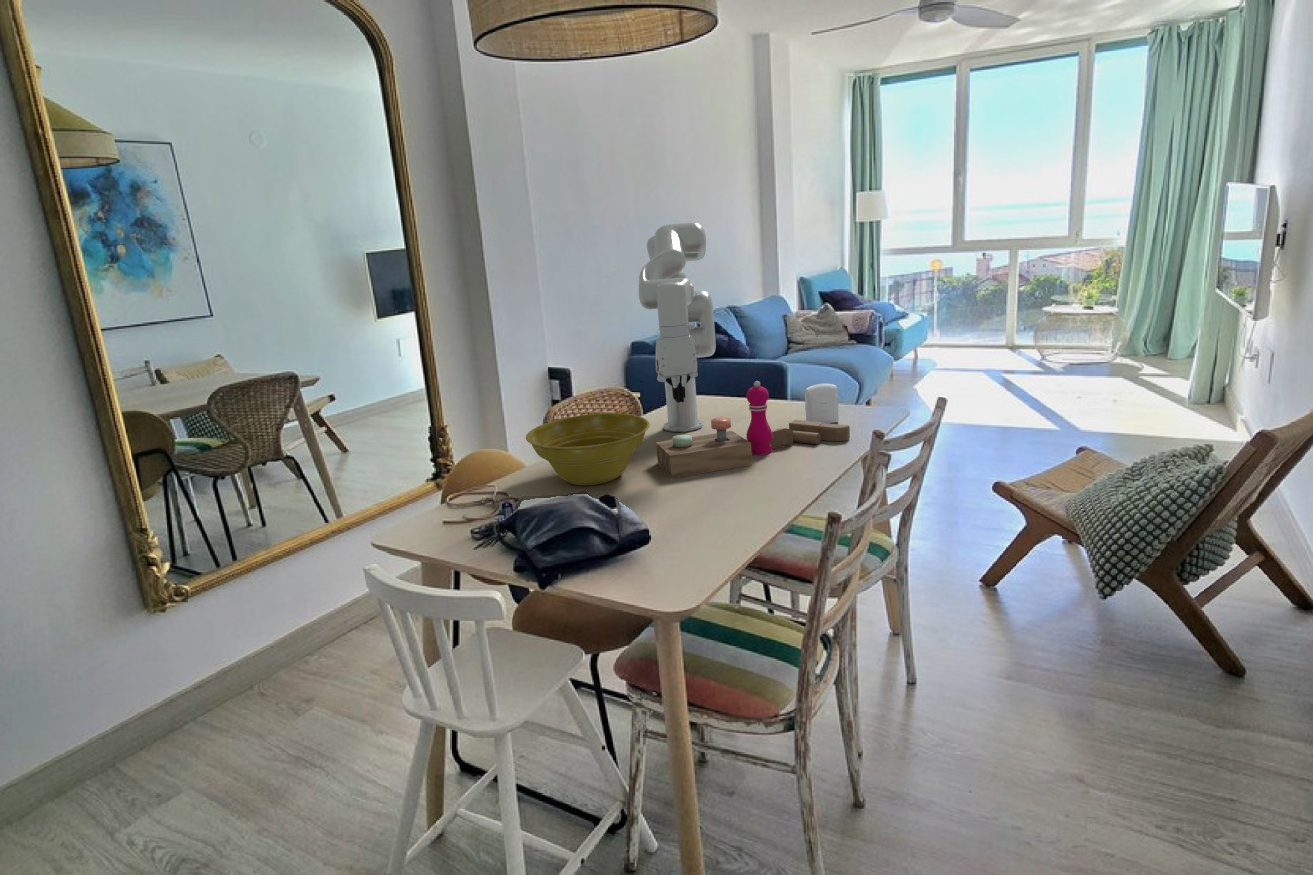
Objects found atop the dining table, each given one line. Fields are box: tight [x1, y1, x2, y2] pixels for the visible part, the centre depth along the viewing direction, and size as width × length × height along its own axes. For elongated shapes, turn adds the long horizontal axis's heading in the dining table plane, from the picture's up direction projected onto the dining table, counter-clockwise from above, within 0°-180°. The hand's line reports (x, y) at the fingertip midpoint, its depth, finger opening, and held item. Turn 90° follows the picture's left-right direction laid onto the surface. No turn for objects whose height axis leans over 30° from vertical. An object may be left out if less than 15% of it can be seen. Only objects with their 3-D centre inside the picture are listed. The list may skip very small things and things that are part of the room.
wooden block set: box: [769, 419, 851, 449], centre depth 211 cm, size 17×6×18 cm
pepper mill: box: [745, 380, 773, 456], centre depth 206 cm, size 7×7×20 cm
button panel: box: [655, 430, 753, 479], centre depth 201 cm, size 14×22×6 cm, turn 105°
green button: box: [671, 434, 693, 448], centre depth 199 cm, size 5×5×8 cm
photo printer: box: [804, 383, 839, 424], centre depth 230 cm, size 10×4×12 cm, turn 99°
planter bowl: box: [525, 412, 651, 486], centre depth 197 cm, size 32×32×13 cm
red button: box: [710, 416, 732, 442], centre depth 201 cm, size 5×5×8 cm
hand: (679, 401), depth 196 cm, fingers closed
